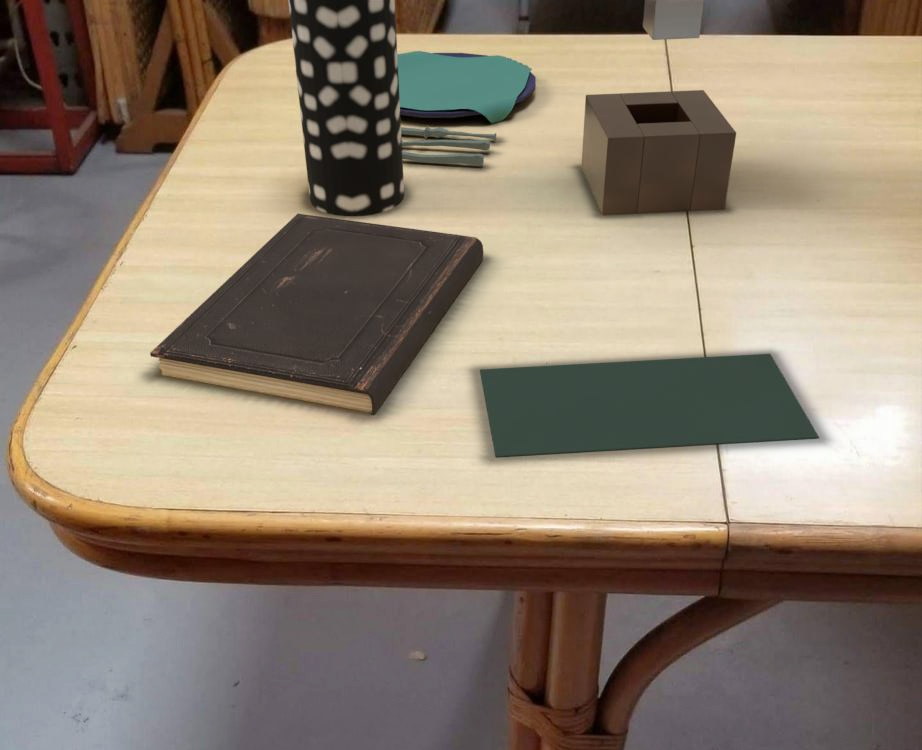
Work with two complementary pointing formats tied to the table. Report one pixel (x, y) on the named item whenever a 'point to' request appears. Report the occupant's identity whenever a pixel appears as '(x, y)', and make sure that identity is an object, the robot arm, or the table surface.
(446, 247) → the hardcover book
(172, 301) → the table surface
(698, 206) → the holder
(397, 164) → the spotted tube
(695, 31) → the brushed metal bar
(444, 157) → the cutlery set
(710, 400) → the mat
